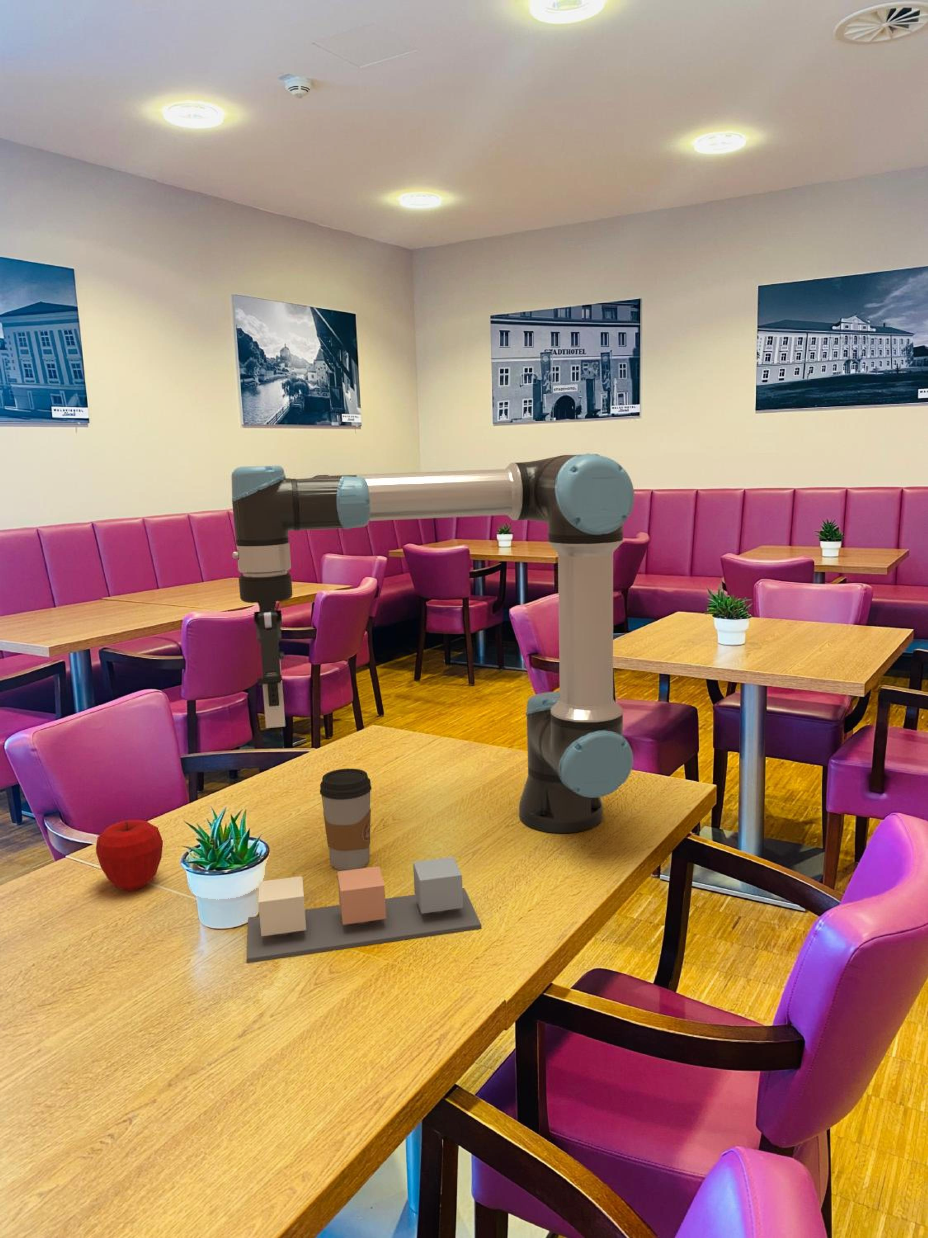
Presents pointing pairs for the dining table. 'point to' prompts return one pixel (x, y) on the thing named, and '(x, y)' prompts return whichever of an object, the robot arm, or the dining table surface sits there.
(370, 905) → the block terracotta
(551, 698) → the robot arm
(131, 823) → the apple
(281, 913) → the block cream
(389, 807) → the dining table surface
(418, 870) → the block slate
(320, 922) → the strip
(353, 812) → the coffee cup
